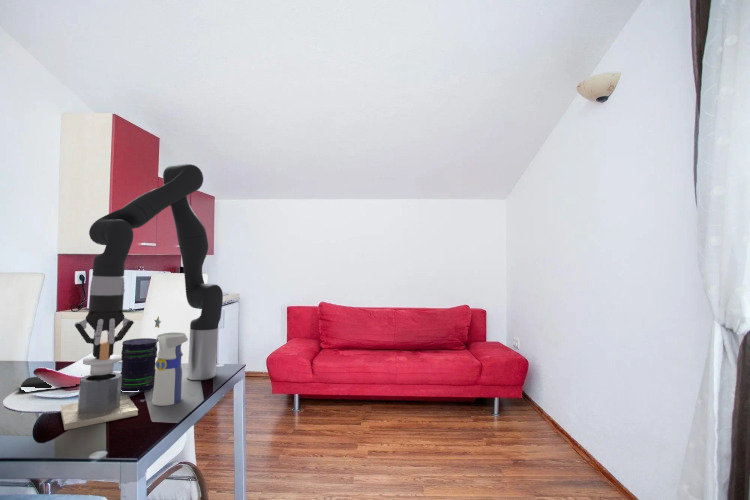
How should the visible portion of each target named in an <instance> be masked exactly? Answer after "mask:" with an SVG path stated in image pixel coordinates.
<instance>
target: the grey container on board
mask: <svg viewBox="0 0 750 500" xmlns="http://www.w3.org/2000/svg"><path fill="white" fill-rule="evenodd" d="M120 373H121V372H114V371H113V372H112V373H110V374H105V375H91V374H88V375H84V376H82V378H80V384H79V385H78V387H79V388H78V401H77V402H73V403H66V404H61V405H60V414H61V420H62V424H63V429H64V431H68V430H73V429H77V428H78V429H79V428H84V427H87V426H88V427H89V426H92V425H96V424H102V423H106V422H112V421H118V420H121V419H126V418H131V417H136V416H138V415H139V413H138V411H139V409H138V408H137V406H136V405H135V403H134V402H133V400H131V398H130V396H129V395H128V393H124V394H122V392H121V382H122V375H121V374H120Z"/></svg>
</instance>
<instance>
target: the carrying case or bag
mask: <svg viewBox="0 0 750 500" xmlns="http://www.w3.org/2000/svg"><path fill="white" fill-rule="evenodd" d="M38 377H39V376H32V377H27V378H26V379H25V380H24V381H23V382H22V383H21V385H20V387H35V388H51V387H52V386H51V385H49V384H47V383H46V382H44V381H43V380H41V379H40V378H38ZM20 387H19V391H21V392H22V393H24V394H26V392H25V391H24V390H21V388H20Z"/></svg>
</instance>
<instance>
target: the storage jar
mask: <svg viewBox="0 0 750 500" xmlns="http://www.w3.org/2000/svg"><path fill="white" fill-rule="evenodd" d="M156 342H157V338H148V337H147V338H145V337H143V338H142V337H141V338H133V339H127V340H123V341H122V344H121V345H122V348H121V356H122V360H121V371H120V372H119V373H120V374H121V375H122V382H121V390H122V391H138V390H139V391H141V392H140V393H144V392H148V391H150V390H154V380H155V371H156V365H155V364H156V361H157V357H156V356H157V354H158V345H157V346H156ZM157 343H158V342H157Z"/></svg>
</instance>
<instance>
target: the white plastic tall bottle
mask: <svg viewBox="0 0 750 500" xmlns="http://www.w3.org/2000/svg"><path fill="white" fill-rule="evenodd" d="M154 322H155V325H154V328H158V329H160V324H161V323H162V321H161V320H160V316H158V317H157V319H154ZM156 339H157V342H156V346H157V347H159V349H158V351H157V356H156V360H155V369H156V371H155V380H154V388H153V393H152V400H151V404H152V405H153V406H171V405H175V404H179V403H180V402H182V400H183V395H182V393H183V392H182V390H183V388H182V387H183V367H182V357H183V356H184V353H183V351H182V344H184V343H185V342H188V339H189V338H188V336H187V334H186V333H184V332H165V333H160V334H157V336H156Z"/></svg>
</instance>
